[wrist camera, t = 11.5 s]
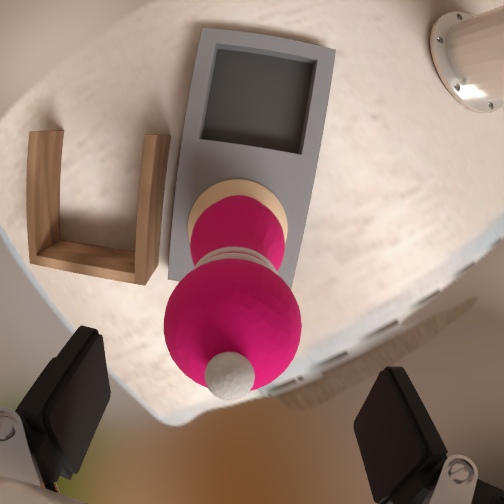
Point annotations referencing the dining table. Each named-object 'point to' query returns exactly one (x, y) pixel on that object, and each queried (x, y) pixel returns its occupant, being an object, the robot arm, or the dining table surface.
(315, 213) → the dining table surface
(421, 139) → the dining table surface
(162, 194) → the wooden u-shaped frame
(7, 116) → the dining table surface
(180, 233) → the gray portable music player
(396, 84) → the dining table surface
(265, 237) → the pepper mill
